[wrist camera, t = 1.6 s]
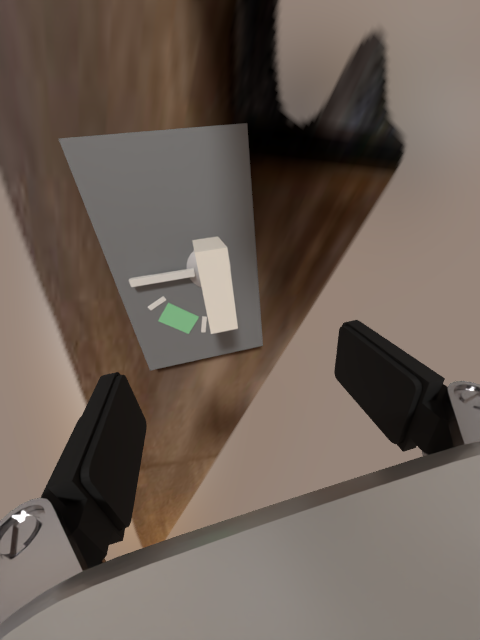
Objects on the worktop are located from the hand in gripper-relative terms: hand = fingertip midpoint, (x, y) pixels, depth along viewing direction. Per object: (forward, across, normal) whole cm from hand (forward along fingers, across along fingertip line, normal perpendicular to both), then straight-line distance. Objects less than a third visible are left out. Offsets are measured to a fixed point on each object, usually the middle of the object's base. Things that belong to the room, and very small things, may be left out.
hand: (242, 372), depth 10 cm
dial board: (+17, +2, -1) cm, 18 cm away
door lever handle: (+15, +3, -1) cm, 15 cm away
